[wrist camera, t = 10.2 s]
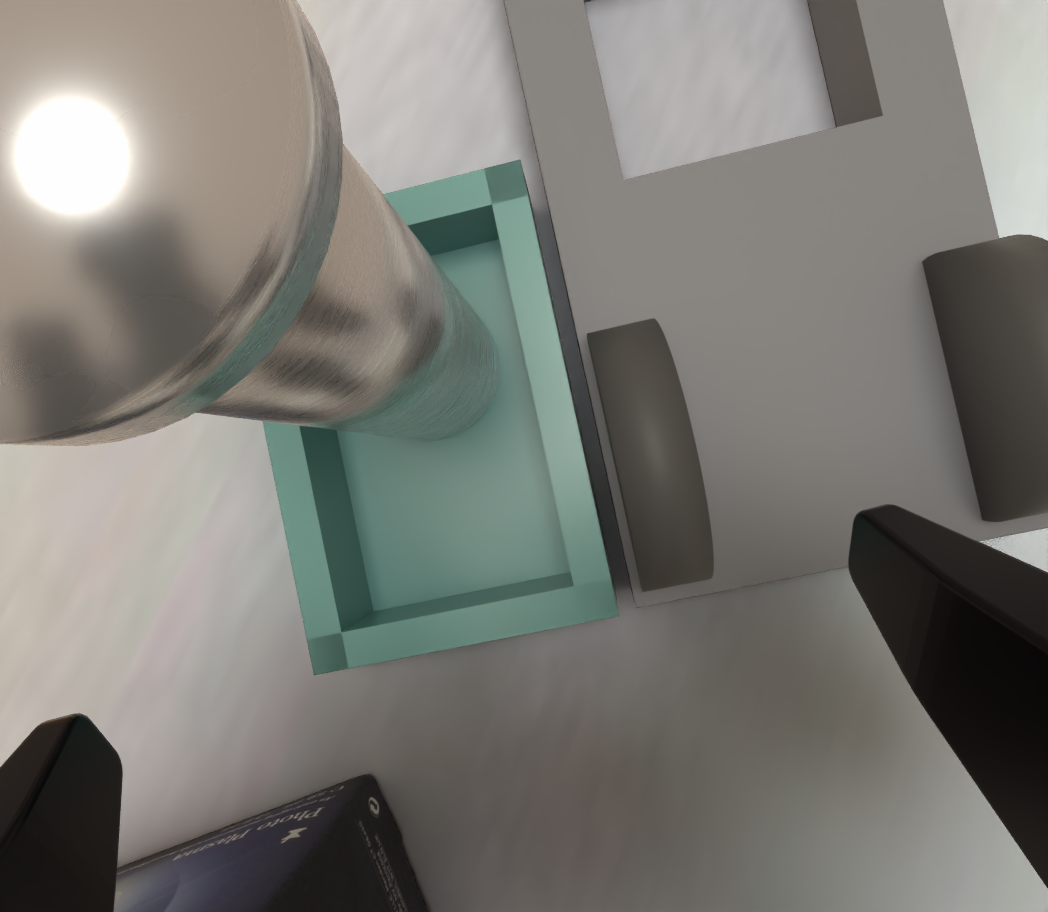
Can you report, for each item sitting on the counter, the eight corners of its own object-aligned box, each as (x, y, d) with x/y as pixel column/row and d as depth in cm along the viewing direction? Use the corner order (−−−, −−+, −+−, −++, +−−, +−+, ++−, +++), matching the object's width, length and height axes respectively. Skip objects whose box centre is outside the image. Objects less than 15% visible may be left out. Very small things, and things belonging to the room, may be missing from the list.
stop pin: (550, 392, 19) (423, 187, 5) (403, 490, 19) (-124, 571, 5) (452, 246, 19) (58, -361, 5) (309, 345, 19) (-444, 35, 5)
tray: (615, 592, 19) (619, 615, 16) (357, 643, 20) (314, 675, 17) (532, 206, 19) (520, 159, 16) (280, 269, 20) (225, 234, 17)
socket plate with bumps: (1002, 515, 18) (1181, 538, 13) (631, 589, 19) (645, 640, 13) (853, -122, 19) (962, -372, 13) (498, -24, 19) (458, -218, 14)
